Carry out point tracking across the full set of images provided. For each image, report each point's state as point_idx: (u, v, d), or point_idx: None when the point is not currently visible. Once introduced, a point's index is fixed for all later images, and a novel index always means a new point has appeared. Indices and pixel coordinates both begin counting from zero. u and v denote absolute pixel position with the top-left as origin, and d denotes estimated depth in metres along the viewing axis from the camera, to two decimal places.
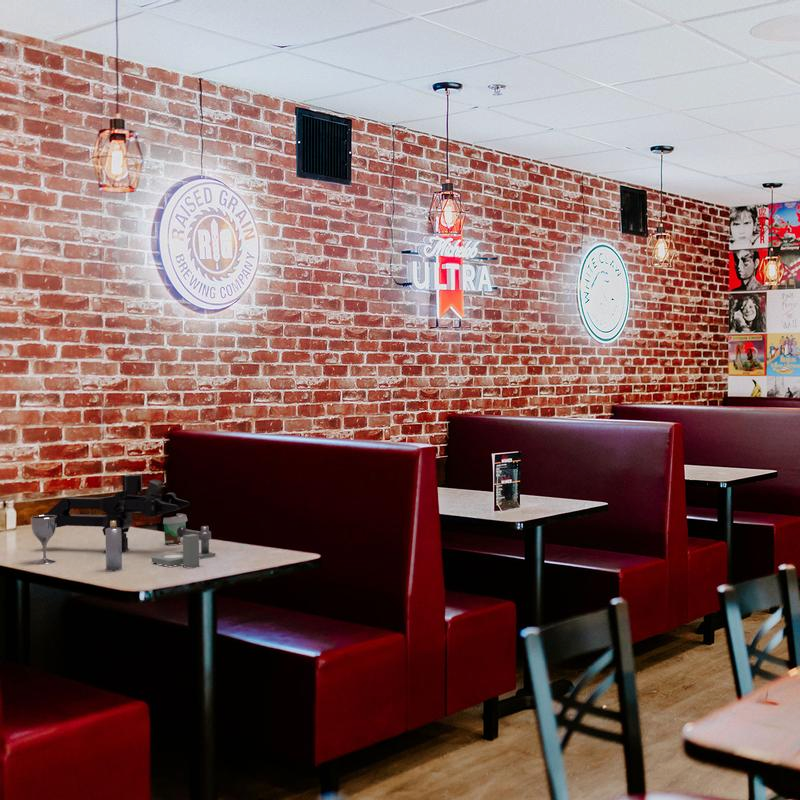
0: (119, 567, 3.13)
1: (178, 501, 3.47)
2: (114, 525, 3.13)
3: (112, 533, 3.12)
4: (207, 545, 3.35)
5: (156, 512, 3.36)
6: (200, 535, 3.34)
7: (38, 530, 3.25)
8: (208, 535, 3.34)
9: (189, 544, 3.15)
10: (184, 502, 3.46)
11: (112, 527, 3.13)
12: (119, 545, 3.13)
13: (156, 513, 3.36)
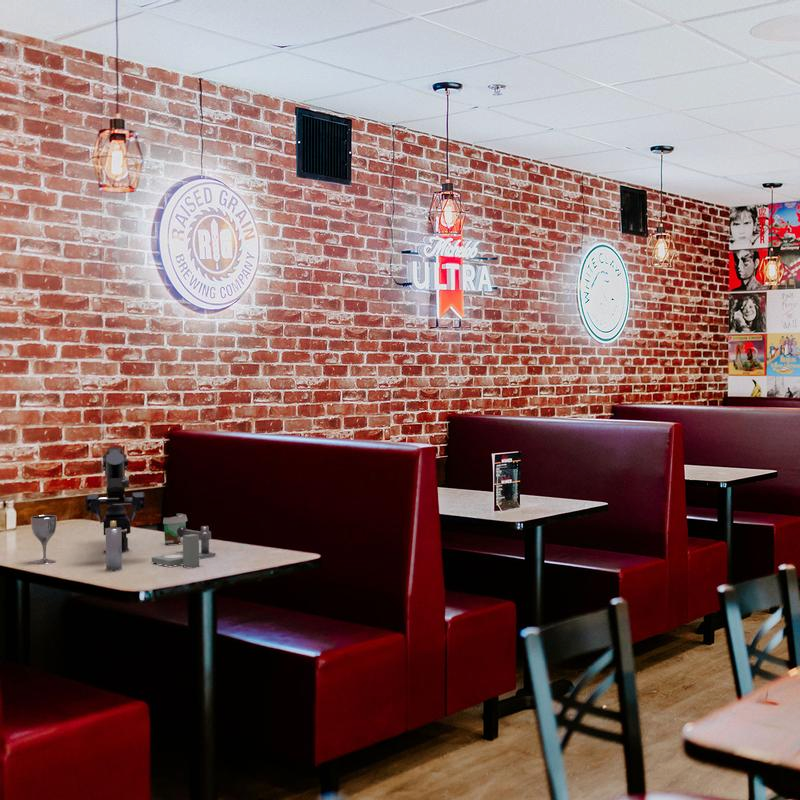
0: (119, 567, 3.13)
1: (131, 510, 3.26)
2: (114, 525, 3.13)
3: (112, 533, 3.12)
4: (207, 545, 3.35)
5: (92, 510, 3.25)
6: (200, 535, 3.34)
7: (38, 530, 3.25)
8: (208, 535, 3.34)
9: (189, 544, 3.15)
10: (130, 516, 3.24)
11: (112, 527, 3.13)
12: (119, 545, 3.13)
13: (92, 511, 3.26)
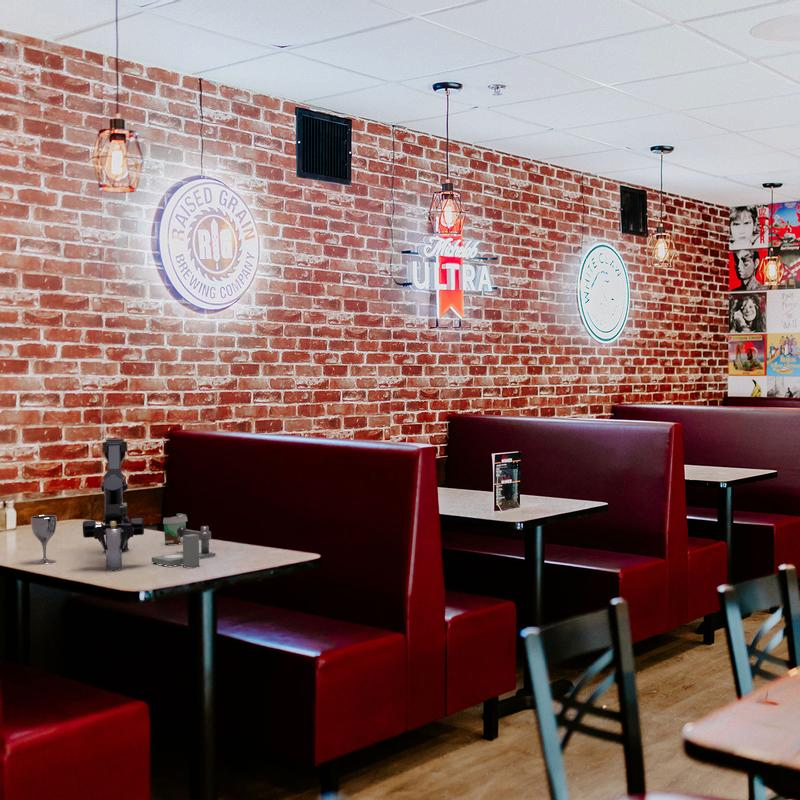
0: (119, 567, 3.13)
1: (122, 537, 3.16)
2: (114, 525, 3.13)
3: (112, 533, 3.12)
4: (207, 545, 3.35)
5: (96, 536, 3.17)
6: (200, 535, 3.34)
7: (38, 530, 3.25)
8: (208, 535, 3.34)
9: (189, 544, 3.15)
10: (121, 544, 3.14)
11: (112, 527, 3.13)
12: (119, 545, 3.13)
13: (96, 537, 3.17)
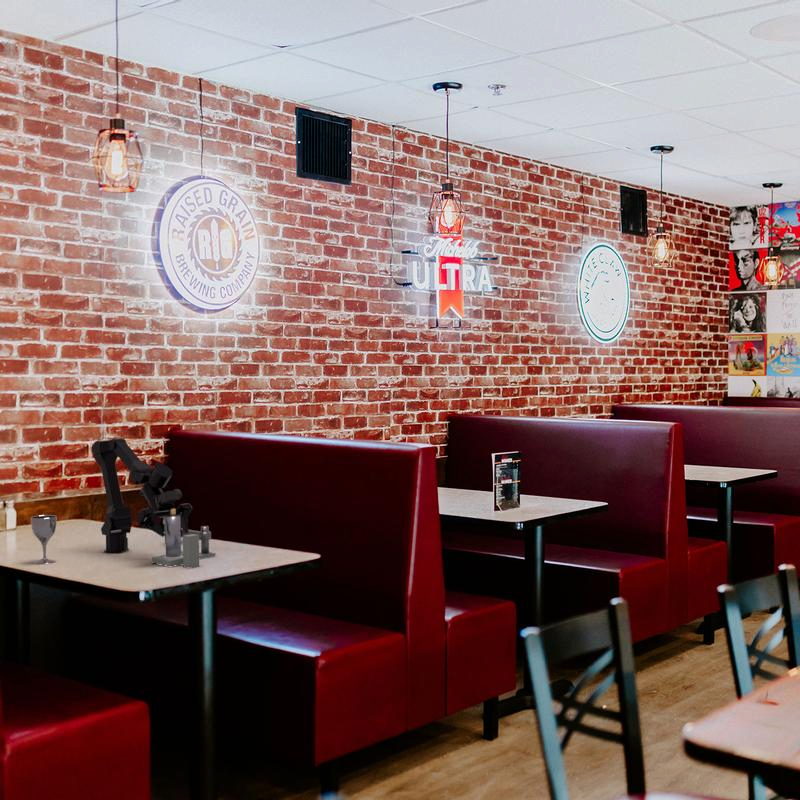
0: (180, 553, 3.24)
1: (183, 521, 3.28)
2: (175, 513, 3.24)
3: (176, 520, 3.22)
4: (207, 545, 3.35)
5: (146, 524, 3.21)
6: (200, 535, 3.34)
7: (38, 530, 3.25)
8: (208, 535, 3.34)
9: (189, 544, 3.15)
10: (185, 527, 3.27)
11: (173, 515, 3.23)
12: (180, 532, 3.24)
13: (145, 525, 3.22)
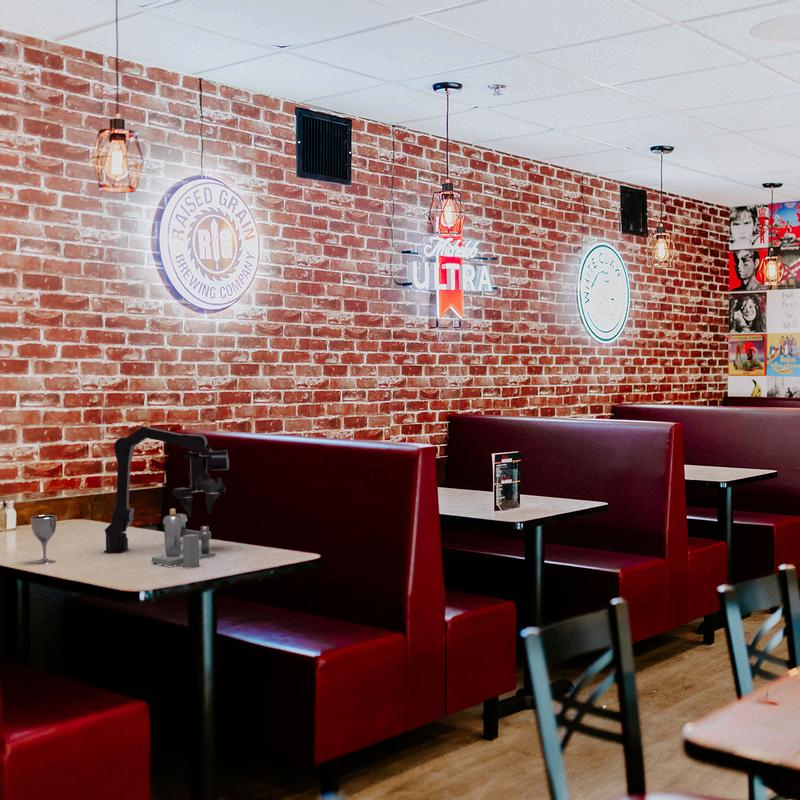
0: (180, 553, 3.24)
1: (210, 502, 3.51)
2: (175, 513, 3.24)
3: (176, 520, 3.22)
4: (207, 545, 3.35)
5: (180, 498, 3.44)
6: (200, 535, 3.34)
7: (38, 530, 3.25)
8: (208, 535, 3.34)
9: (189, 544, 3.15)
10: (209, 509, 3.51)
11: (173, 515, 3.23)
12: (180, 532, 3.24)
13: (179, 498, 3.44)
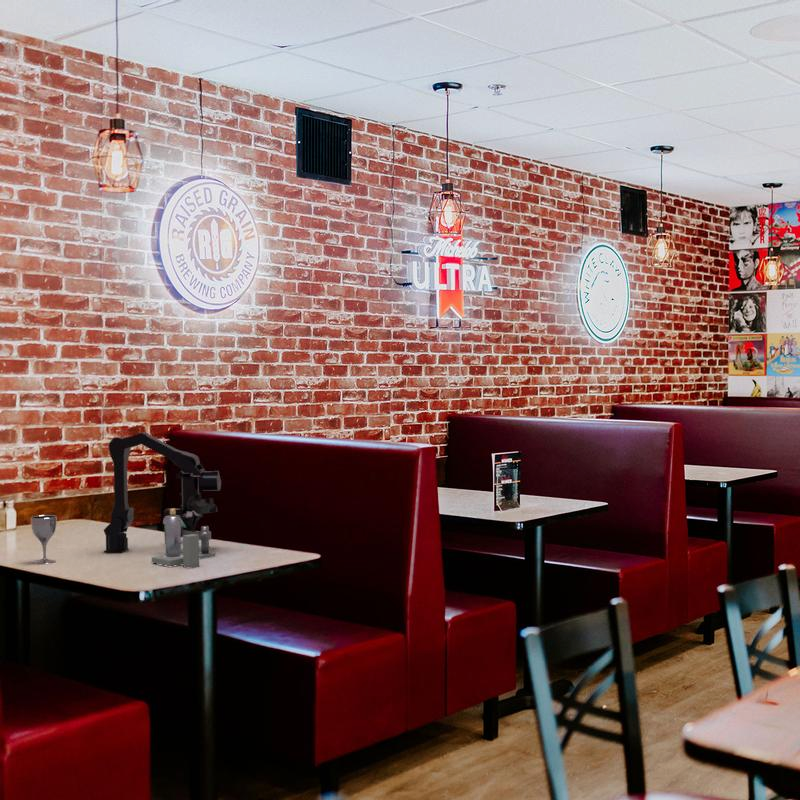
0: (180, 553, 3.24)
1: None
2: (175, 513, 3.24)
3: (176, 520, 3.22)
4: (207, 545, 3.35)
5: (181, 517, 3.45)
6: (200, 535, 3.34)
7: (38, 530, 3.25)
8: (208, 535, 3.34)
9: (189, 544, 3.15)
10: None
11: (173, 515, 3.23)
12: (180, 532, 3.24)
13: (181, 517, 3.45)
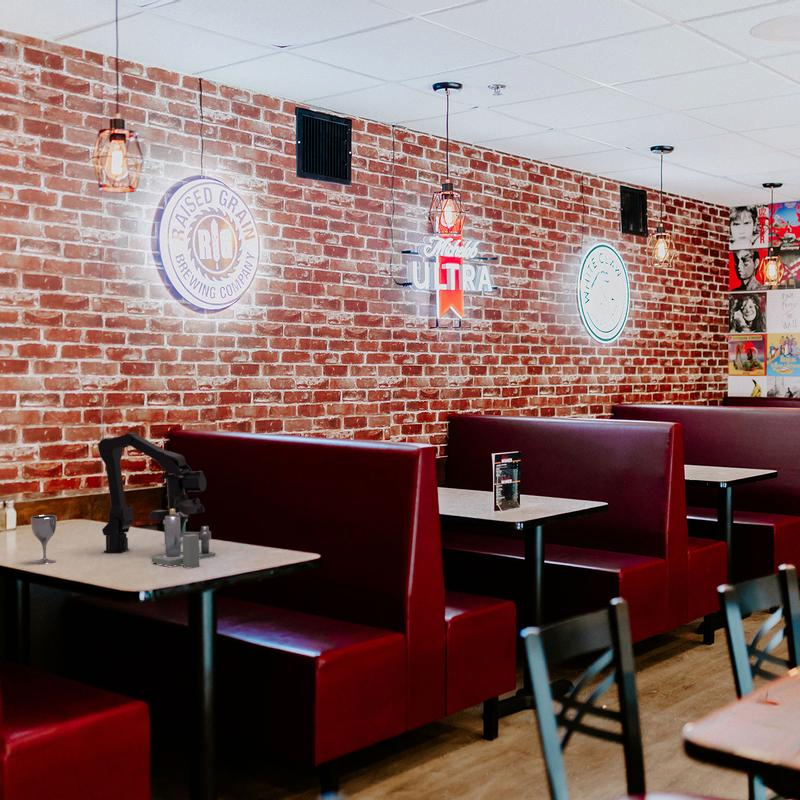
0: (180, 553, 3.24)
1: None
2: (174, 513, 3.24)
3: (176, 520, 3.22)
4: (208, 545, 3.36)
5: None
6: (202, 535, 3.34)
7: (38, 530, 3.25)
8: (210, 535, 3.35)
9: (189, 544, 3.15)
10: None
11: (173, 515, 3.23)
12: (179, 532, 3.24)
13: None
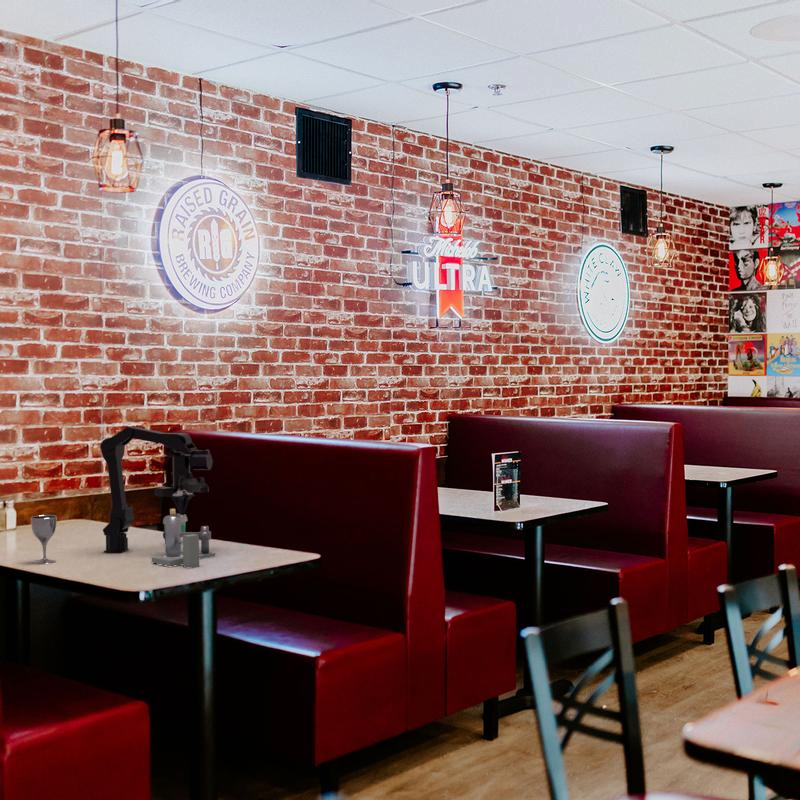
0: (180, 553, 3.24)
1: (184, 503, 3.42)
2: (175, 513, 3.24)
3: (176, 520, 3.22)
4: (208, 545, 3.36)
5: (172, 497, 3.42)
6: (203, 535, 3.34)
7: (38, 530, 3.25)
8: (210, 535, 3.35)
9: (189, 544, 3.15)
10: None
11: (173, 515, 3.23)
12: (180, 532, 3.24)
13: (171, 496, 3.42)
